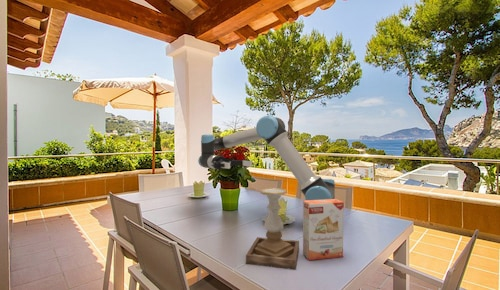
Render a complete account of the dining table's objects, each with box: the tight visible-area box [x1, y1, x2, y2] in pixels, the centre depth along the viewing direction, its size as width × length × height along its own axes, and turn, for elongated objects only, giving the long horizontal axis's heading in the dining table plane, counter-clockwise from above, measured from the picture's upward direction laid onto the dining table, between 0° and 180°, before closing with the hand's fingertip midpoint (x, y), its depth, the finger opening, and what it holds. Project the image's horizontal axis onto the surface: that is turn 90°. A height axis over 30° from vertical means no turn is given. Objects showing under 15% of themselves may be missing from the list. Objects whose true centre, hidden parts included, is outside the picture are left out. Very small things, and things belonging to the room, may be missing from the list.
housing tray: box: [245, 236, 300, 270], centre depth 97 cm, size 17×17×3 cm
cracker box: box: [302, 198, 345, 261], centre depth 96 cm, size 14×6×21 cm, turn 101°
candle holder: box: [254, 187, 294, 258], centre depth 97 cm, size 11×11×24 cm
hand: (240, 164), depth 125 cm, fingers open, 13 cm apart
